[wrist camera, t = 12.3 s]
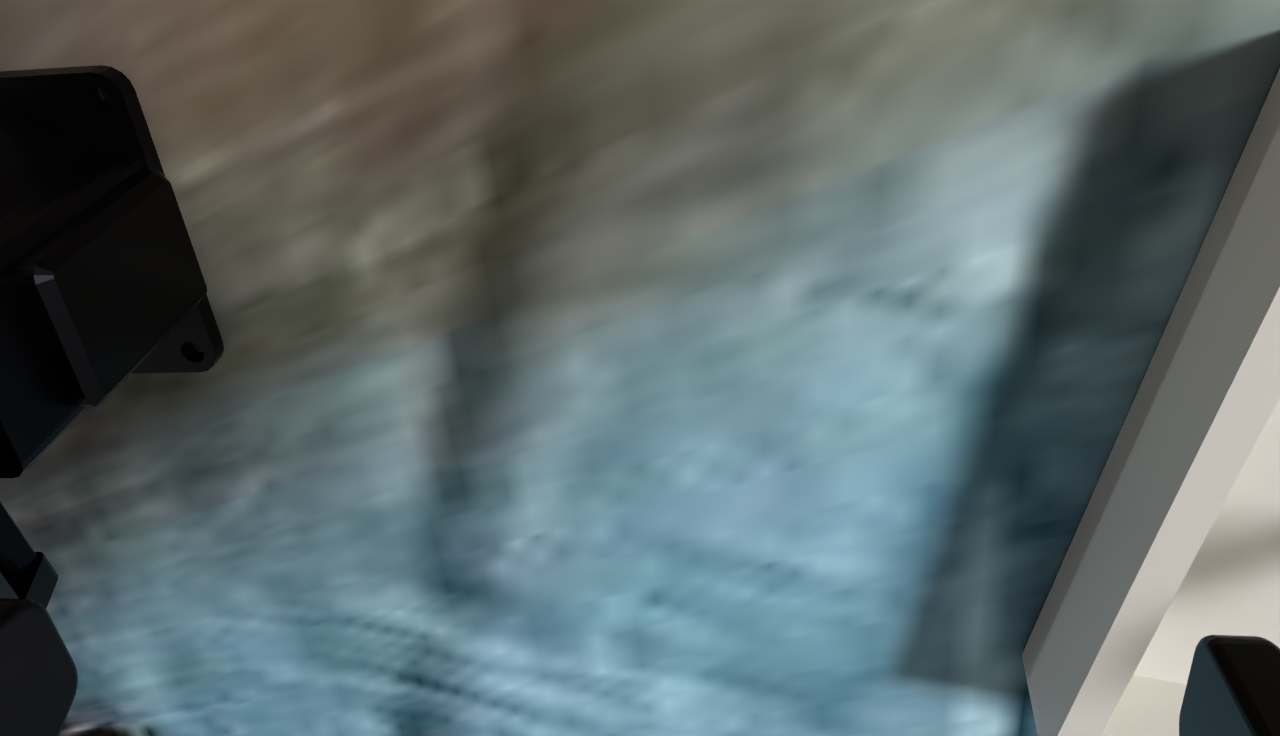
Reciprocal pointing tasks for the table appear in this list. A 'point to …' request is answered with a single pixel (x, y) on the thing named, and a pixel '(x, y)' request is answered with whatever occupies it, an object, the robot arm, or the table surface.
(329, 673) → the table surface
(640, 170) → the table surface
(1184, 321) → the tray
